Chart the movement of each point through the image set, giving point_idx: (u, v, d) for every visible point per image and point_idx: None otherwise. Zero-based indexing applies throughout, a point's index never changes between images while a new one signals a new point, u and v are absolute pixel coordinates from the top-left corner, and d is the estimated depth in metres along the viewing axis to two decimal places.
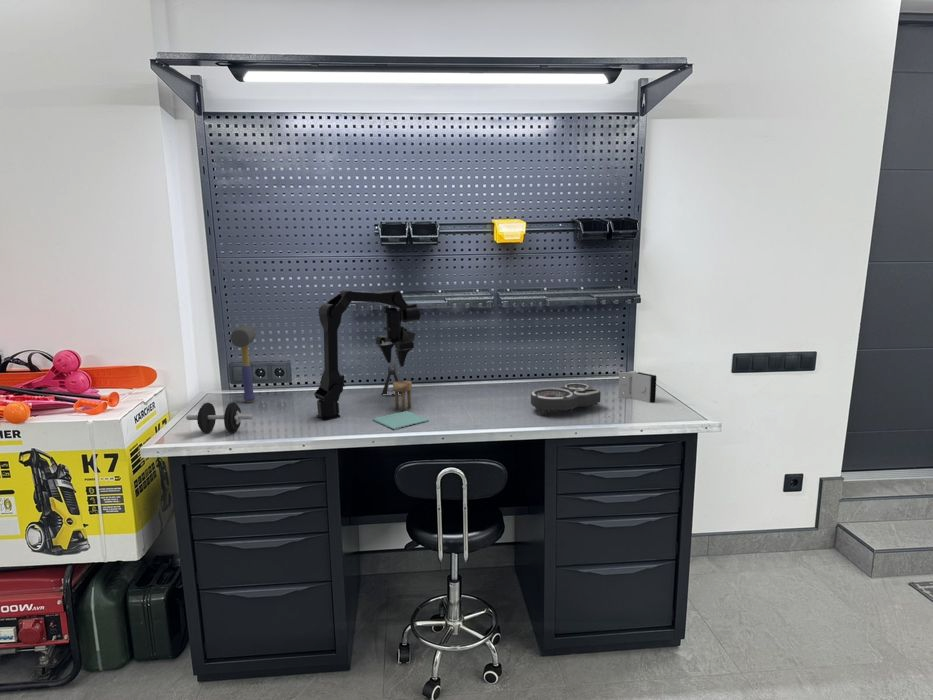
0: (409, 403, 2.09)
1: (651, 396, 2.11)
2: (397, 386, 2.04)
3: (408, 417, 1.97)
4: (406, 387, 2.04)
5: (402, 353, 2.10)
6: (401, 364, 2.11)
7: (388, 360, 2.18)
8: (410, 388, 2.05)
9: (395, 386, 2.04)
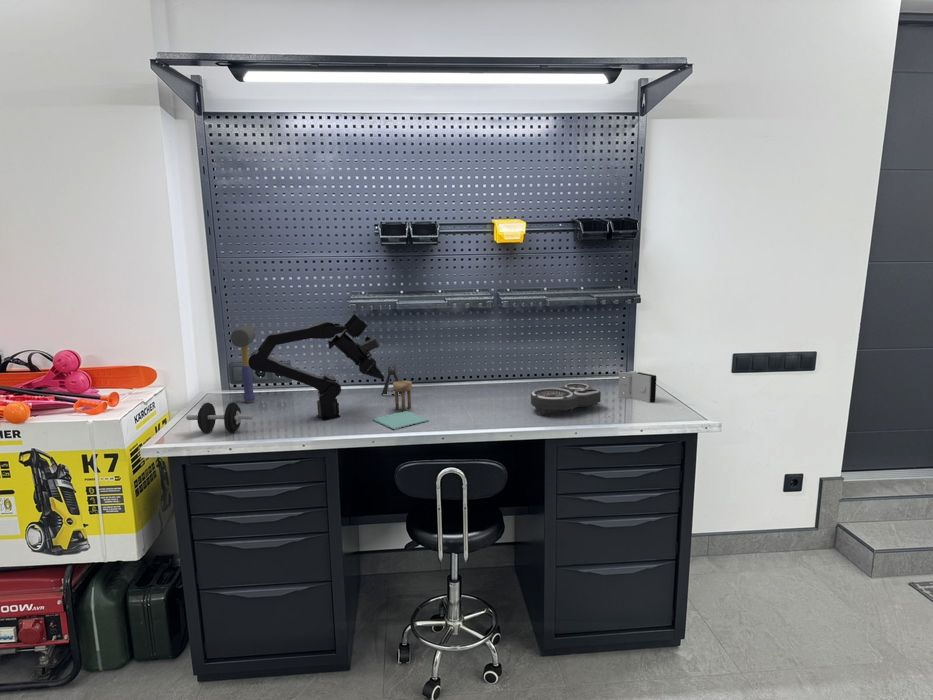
0: (409, 403, 2.09)
1: (651, 396, 2.11)
2: (397, 386, 2.04)
3: (408, 417, 1.97)
4: (406, 387, 2.04)
5: (372, 370, 1.97)
6: (381, 377, 1.99)
7: None
8: (410, 388, 2.05)
9: (395, 386, 2.04)
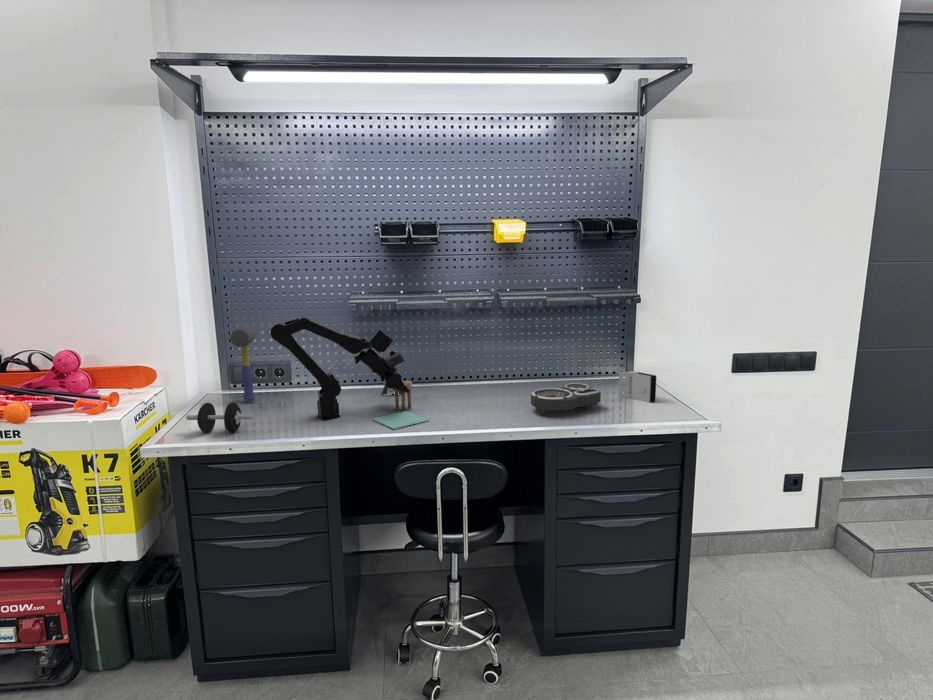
0: (409, 403, 2.09)
1: (651, 396, 2.11)
2: None
3: (408, 417, 1.97)
4: None
5: (397, 383, 2.01)
6: (406, 390, 2.03)
7: None
8: (410, 388, 2.05)
9: None
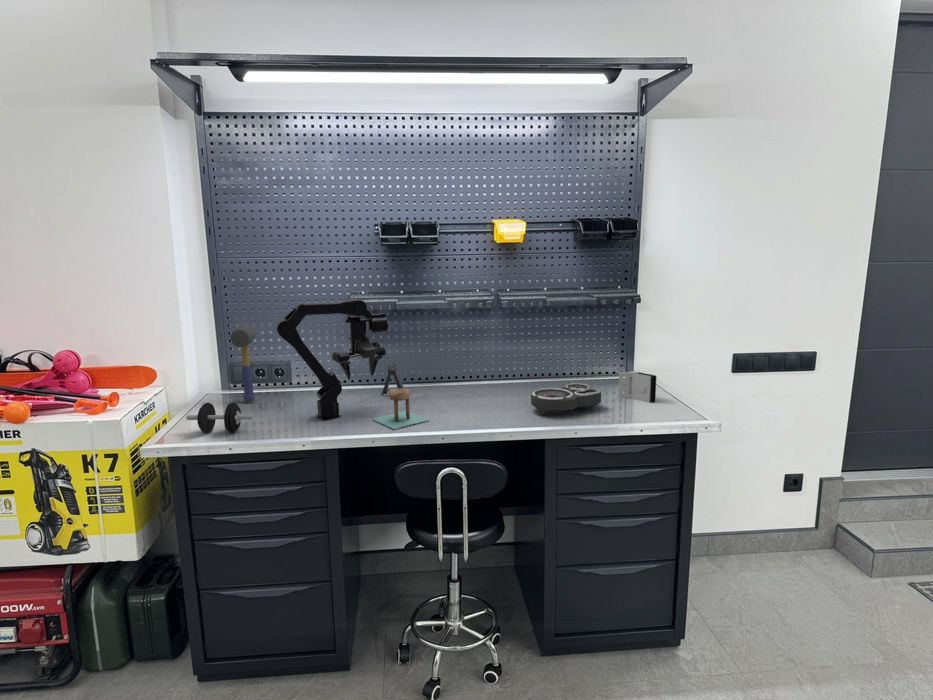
0: (407, 413, 1.95)
1: (651, 396, 2.11)
2: (390, 394, 1.91)
3: None
4: (398, 396, 1.90)
5: (344, 365, 1.99)
6: (347, 376, 2.01)
7: (371, 372, 2.06)
8: (404, 398, 1.91)
9: (389, 393, 1.92)
